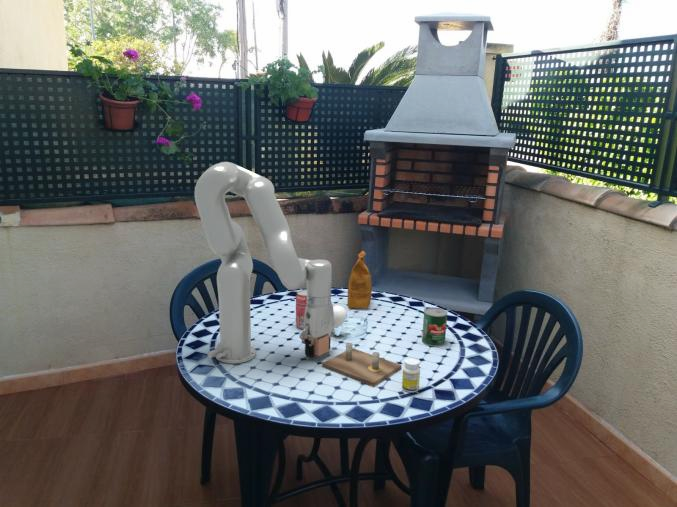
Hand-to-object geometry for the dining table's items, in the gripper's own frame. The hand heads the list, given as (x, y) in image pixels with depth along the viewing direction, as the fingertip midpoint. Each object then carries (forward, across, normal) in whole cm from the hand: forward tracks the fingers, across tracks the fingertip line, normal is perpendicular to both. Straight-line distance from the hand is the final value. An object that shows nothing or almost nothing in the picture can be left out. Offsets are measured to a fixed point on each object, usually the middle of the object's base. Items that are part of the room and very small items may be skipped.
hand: (317, 351), depth 166 cm
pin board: (+1, +2, -16) cm, 16 cm away
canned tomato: (+2, +35, -22) cm, 42 cm away
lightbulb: (+2, +17, +6) cm, 18 cm away
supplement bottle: (+2, +1, -34) cm, 34 cm away
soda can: (+2, +16, +20) cm, 25 cm away
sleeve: (+1, 0, 0) cm, 1 cm away
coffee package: (+2, +48, +18) cm, 51 cm away
